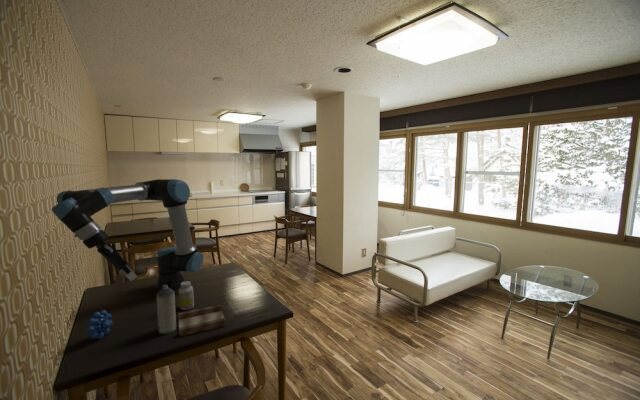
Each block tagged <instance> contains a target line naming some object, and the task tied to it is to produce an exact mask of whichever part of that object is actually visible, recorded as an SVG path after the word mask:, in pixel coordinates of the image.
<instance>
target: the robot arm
mask: <svg viewBox="0 0 640 400" xmlns="http://www.w3.org/2000/svg"><path fill="white" fill-rule="evenodd" d="M190 194H191V189H190V186H189V185H188V184H187V183H186V182H185V181H183V180H181V179H176V178H174V179H171V178H169V179H167V178H166V179H162V178H161V179H159V178H158V179H157V178H156V179H152V180H147V181H139V182H136V183H134V184H129V185H119V186H111V187H110V186H109V187H100V188H91V189H81V190H64V191H61V192H59V193H58V194H57V196H56V198H57V202H58V204H57V202H56V205H54V206H53V207H52V208H51V212H52V213H53V214H54V215H55V216H56V217H57V219H58V220H59V221H60V222H62V224H63V225H65V226H66V228H67V229H69V230H70V231H71V232H72V233H73V234H74V235H73V237H74V238H77V239H79V241H82V243H83V245H85V246H86V247H87V249H93V248H96V251H97V253H99V254H100V255H101V256H103V257H104V258H105V260H107V261H108V262H109V263H110V264H111V265H112V266H113V267H114V268H116V269H117V271H119V272H121V273H122V274H123V275H124V276H125V277H126V278H127V279H128V281H129V282H133V280H135V279H136V278H137V277H138V275H137V274H136V273H135V272H134V271H133V270H132V269H131V268H130V267H129V266H128V263H127V261H125V260H124V258H123V257H122V256H121V254H120V253H119V252H118V251H117V249H116V248H115V247H114V245H111V243H110V242H106V241H105V240H106V239H108V238H109V235H108V234H107V233H106V232H105V231H104V230H103V229H101V225H99V224H98V223H97V222H96V221H95V220H94V218H92V216H94V215H95V214H96V213H99V212H100V211H102V210H104V209H105V208H108V207H109V206H110V205H111V204H117V203H122V202H130V201H136V200H138V201H140V202H141V201H142V202H143V201H158V202H162V204H163V207H164V208H165V209H167V213H168V216H169V221H170V224H171V225H170V226H171V228H172V235H173V238H174V243H175V245H174V246H169V247H164V248H160V249H158V251H157V257H156V259H157V273H158V275H157V280H156V283H155V290H156V291H158V292H159V291H160V290H161V289H162V288H163V285H167V286H168V288H170V289H172V290H174V291H175V290H177V289H180V288H181V283H182V282H185V279H184V276H183V274H182V272H186V273H196V272H197V271H199V270H200V268H202V265H203V262H204V255H203V253H202V252H200V251H199V250H198V248H197V245H195V244H194V243H193V239H192V233H191V229H190V224H189V223H190V222H189V218H188V215H187V209H186V204H187V203H188V200H189V199H190Z"/></svg>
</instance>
